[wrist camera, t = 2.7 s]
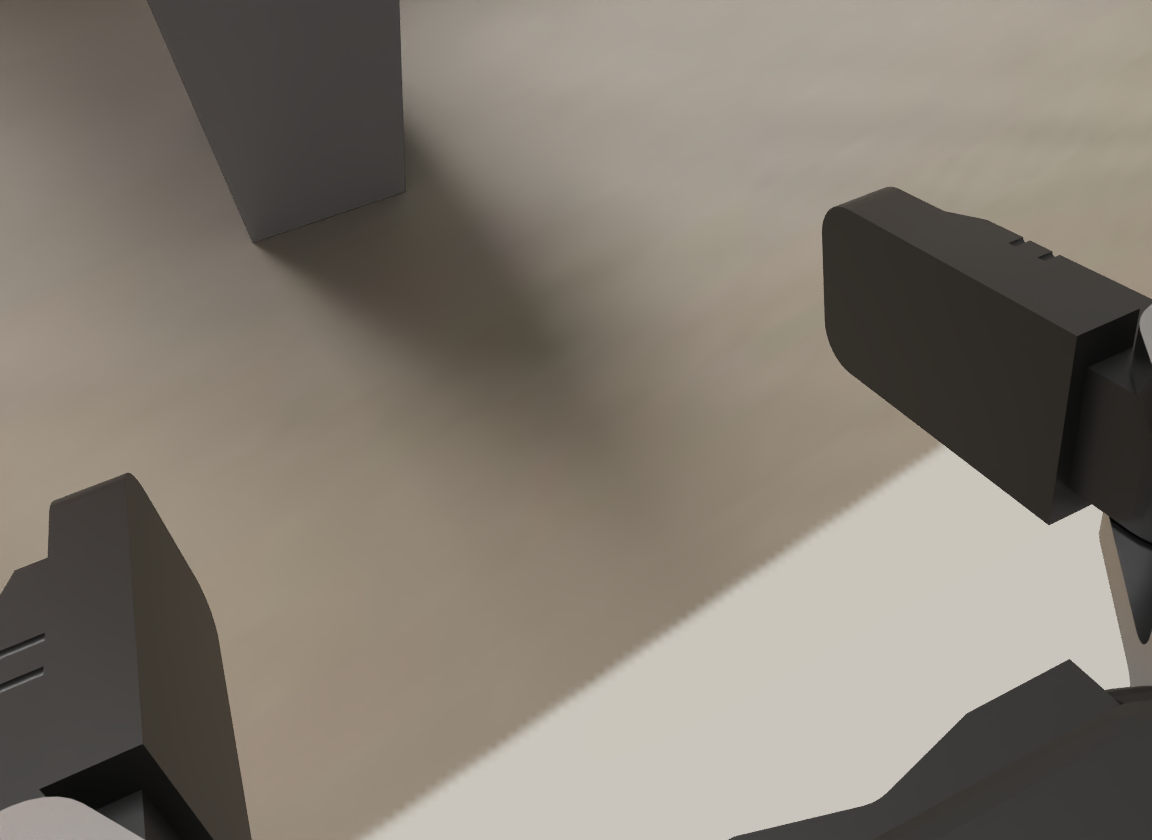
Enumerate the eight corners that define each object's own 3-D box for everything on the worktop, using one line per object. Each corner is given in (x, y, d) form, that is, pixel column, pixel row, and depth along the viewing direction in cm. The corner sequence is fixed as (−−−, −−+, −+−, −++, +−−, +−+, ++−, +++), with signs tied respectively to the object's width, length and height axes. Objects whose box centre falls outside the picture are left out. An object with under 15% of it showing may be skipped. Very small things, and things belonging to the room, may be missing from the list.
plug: (405, 191, 28) (393, -167, 15) (252, 243, 27) (105, -96, 14) (347, 56, 28) (290, -396, 16) (196, 102, 27) (6, -342, 15)
